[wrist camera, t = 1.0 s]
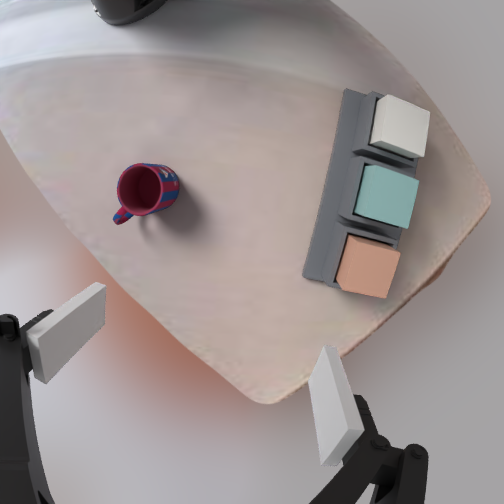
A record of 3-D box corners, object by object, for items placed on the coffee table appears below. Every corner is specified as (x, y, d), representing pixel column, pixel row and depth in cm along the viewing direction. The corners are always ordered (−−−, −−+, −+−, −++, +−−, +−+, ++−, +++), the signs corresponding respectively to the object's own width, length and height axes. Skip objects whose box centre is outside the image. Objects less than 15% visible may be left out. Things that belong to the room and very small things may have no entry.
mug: (188, 191, 41) (173, 194, 35) (139, 231, 43) (119, 240, 36) (162, 155, 40) (144, 152, 33) (115, 197, 42) (92, 201, 35)
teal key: (362, 166, 35) (375, 165, 30) (401, 179, 35) (419, 180, 30) (351, 210, 36) (364, 216, 31) (391, 222, 36) (407, 228, 31)
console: (343, 90, 36) (355, 78, 30) (420, 119, 36) (440, 113, 30) (302, 274, 43) (306, 289, 38) (379, 290, 43) (393, 306, 38)
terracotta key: (346, 233, 37) (357, 241, 32) (385, 243, 37) (400, 252, 32) (333, 275, 39) (342, 290, 34) (372, 284, 39) (385, 298, 34)
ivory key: (373, 103, 33) (388, 94, 28) (412, 118, 33) (430, 112, 28) (366, 144, 34) (380, 140, 29) (405, 158, 34) (423, 156, 29)
